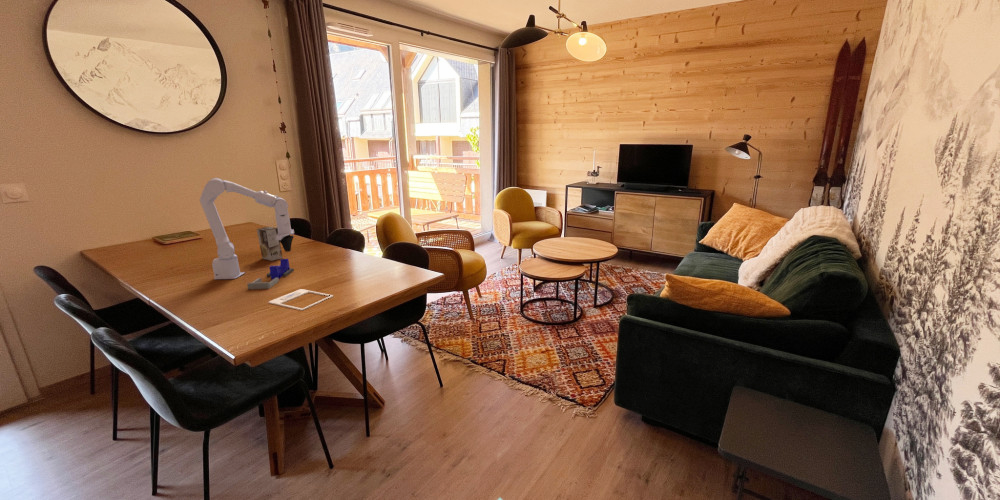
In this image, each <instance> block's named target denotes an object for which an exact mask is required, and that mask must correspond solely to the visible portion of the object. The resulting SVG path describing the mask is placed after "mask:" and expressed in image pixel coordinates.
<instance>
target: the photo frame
mask: <svg viewBox="0 0 1000 500" xmlns="http://www.w3.org/2000/svg"><path fill="white" fill-rule="evenodd" d="M308 293H309V294H315V295H318V296H319V295H320V296H324V295H325V298H322V299H321V300H318V301H316V302H314V303H312V304H309V305H306V306H305V307H303V308H301V307H297V306H293V305H287V304H285V303H287V302H290V301H292V300H294V299H296V298H299V297H302V296H304V295H306V294H308ZM329 295H330V296H329ZM333 297H334V294H328V293H325V292H323V293H322V292H318V291H314V290H308V289H304V288H303V289H302V288H299V289H297V290H295V291H293V292H290V293H287V294H284V295H282V296H278V297H276V298H274V299H272V300H269V301H267V302H268V304H272V305H275V306H280V307H283V308H289V309H294V310H298V311H301V312H302V311H305V310H308V309H309V308H311V307H313V306H315V305H318V304H320V303H322V301H323V302H325V301H326V299H327V300H329V299H331V298H333ZM328 298H329V299H328ZM324 300H325V301H324Z"/></svg>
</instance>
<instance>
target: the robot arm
mask: <svg viewBox="0 0 1000 500" xmlns="http://www.w3.org/2000/svg"><path fill="white" fill-rule="evenodd" d="M224 192H226V193H232V192H233V193H237V194H240V195H243V196H246V197H249V198H252V199H254V201H255V202H256V203H257V204H260V205H263V206H265V207H268V208H274V213H275V214H274V217H275V223H276V228H277V229H278V234H277V236H275V237H276V240H279V241H280V245H281V246H282V248H283V249H284V252H287V253H288V252H291V251H292V242H293V239H294V234H295V230H294V228H293V229H292V227H291V219H290V213H289V210H288V208H289V204H288V202H287V201H286V199H284V198H282V197H280V196H278V195H274V194H270V193H268V191H267V190H264V191H263V190H259V191H255V190H254V189H250V188H248V187H245V186H243V185H241V184H238V183H235V182H234V181H229V180H226V179H222V178H219V177H213V178H211V179H210V180H209V181H207V183H205V185H204V187H203V190H202V192H201V194H200V195H201V196H200V197H199V202H200V205H201V208H202V210H203V212H204V215H205V217H206V220H207V222H208V225H209V227H210V230H211V232H212V235H213V237H214V239H215V244H216V247H217V252H216V253H217V256H218V257H216V258H215V257H214V259H213V260H212V264H211V266H212V270H213V280H235V279H237V278H239V277H241V276H242V275H244V274H245V273H246V272H245V271H243V272H241V269H240V264H239V259H238V255H237V254H235V253H236V252H235V245H234V243H232V242H231V241H230V238H229V236H228V234H227V232H226V229H225V227H224V225H223V221H222V219H221V217H220V214H219V212H218V209H217V207H216V204H215V201H216V199H217V198H218V197H219V196H220V195H222V194H223V193H224Z"/></svg>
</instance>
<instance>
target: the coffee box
mask: <svg viewBox="0 0 1000 500" xmlns="http://www.w3.org/2000/svg"><path fill="white" fill-rule="evenodd" d="M256 232H257V238H258V244H259V249H260V253H261V258H262V259H263V260H267V261H271V262H272V261H273V262H274V261H276V260H281V259H284V258H283V253H282V247H281V246H282V244H281V243H280V241H279V240H276V237H275V236H277V234H278V229H277V227H272V226H266V227H261V228H260V227H259V228H257V229H256Z"/></svg>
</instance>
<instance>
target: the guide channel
mask: <svg viewBox="0 0 1000 500" xmlns="http://www.w3.org/2000/svg"><path fill="white" fill-rule="evenodd" d="M293 272H294V268H290V269H289V270H288V271H286V272H285V273H284V274H283V276H282V277H288V276H289V275H290V274H291V273H293ZM266 277H267V278H271V274H270V272H268V273H267V274H266Z"/></svg>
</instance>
